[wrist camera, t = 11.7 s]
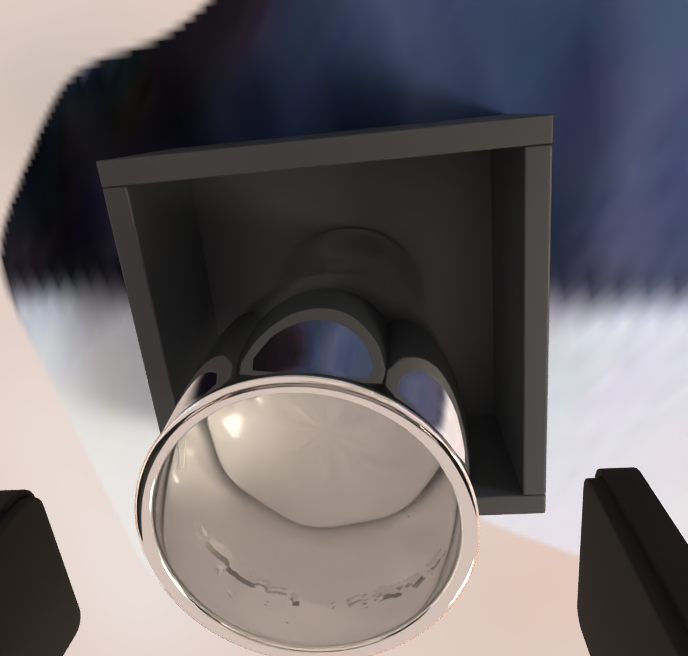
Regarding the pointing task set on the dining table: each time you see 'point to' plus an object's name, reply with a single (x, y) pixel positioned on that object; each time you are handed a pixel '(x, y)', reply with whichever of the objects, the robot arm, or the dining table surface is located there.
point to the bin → (369, 214)
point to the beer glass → (317, 465)
